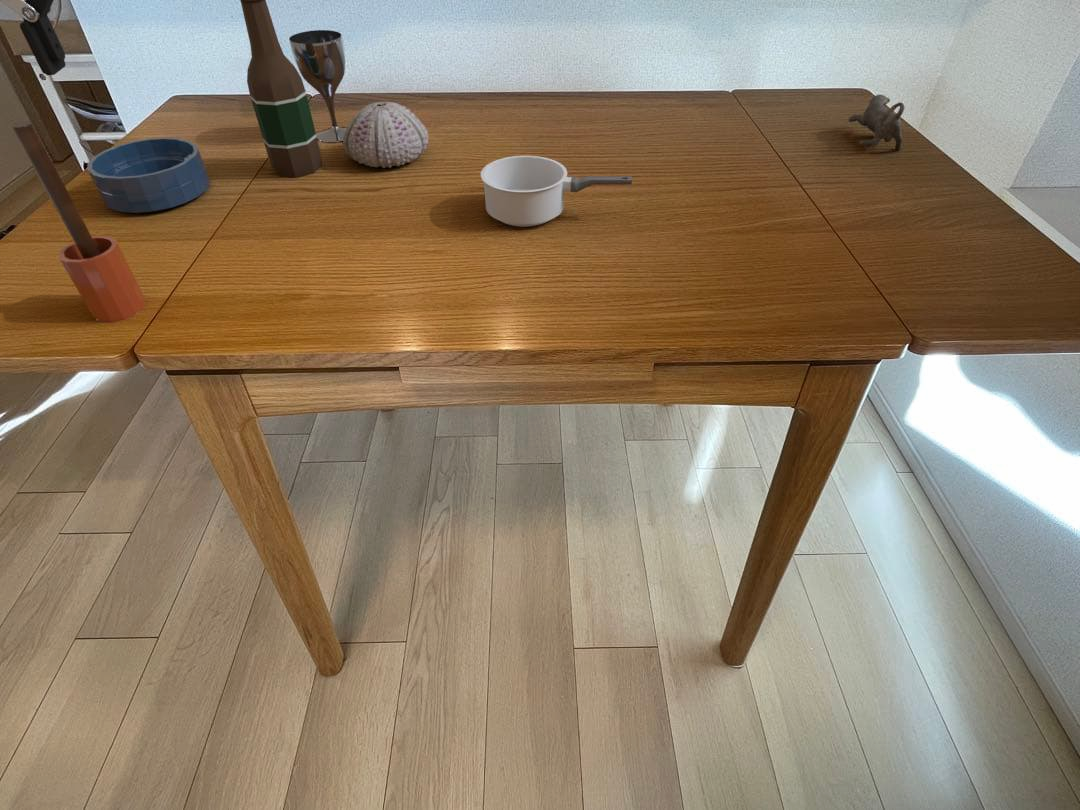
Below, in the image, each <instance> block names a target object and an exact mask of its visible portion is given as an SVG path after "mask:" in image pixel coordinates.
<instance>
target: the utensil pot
mask: <svg viewBox="0 0 1080 810" xmlns="http://www.w3.org/2000/svg"><path fill="white" fill-rule="evenodd" d="M91 237H92V239H93V241H94V242H95V244H96V246H97V248H98V250H99V252H100V255H97V256H95V257H92V258H87V259H84V258H83V256H82V255H81V253H80V251H79V249H78V247H77V245H76V244H75V242H74V241H72V242H70V243H69V244H67V245H65V246H64V247H62V248H61V250H59V252H58V258H59V260H60V262H61V264H62V265H63V267H64V269H65V271H66V272H67V274H68V276H69V278H70V279H71V282H72V283H73V285H74V286H75V288H76V290H77V291H78V294H79V295H80V296H81V299H82V300H83V302H84V303H85V305H86V307H87V309H88V310H89V312H90V314H91V316H92V317H93V319H95V320H96V321H98V322H102V323H115V322H121V321H124V320H128V319H130V318H133V317H134V316H136V315H138V314H139V313H140V312H142V311H143V310H144V308H145V307H146V305H147V300H146V297H145V295H144V293H143V291H142V289H141V287H140V285H139V283H138V282H137V279H136V277H135V275H134V274H133V271H132V269H131V267H130V265H129V263H128V261H127V259H126V257H125V255H124V253H123V250H122V249H121V247H120V245H119V243H118V241H117V239H116V238H114V237H112V236H109V235H94V236H92V235H91Z"/></svg>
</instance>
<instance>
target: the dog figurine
mask: <svg viewBox="0 0 1080 810" xmlns="http://www.w3.org/2000/svg"><path fill="white" fill-rule="evenodd" d="M890 102H891V98H889V97H887V96H886V95H884V94H877V95H874V96H873V97H871V99H870V100H869V103H868V105H867V107H866V109H865V110H864V112H863V114H853V115H851V116H849V118H848V121H847V122H849V123H853V122H858V124H860V125H861V126H863V127H866V128H867V129H868V130H869V131H871V132H872V133H873V137H872V138H868V139H863V140H861V142H859V145H860V146H863V147H864V146H865V147H877V146H878V145H879V144H880V142H881V140H883V141H884V142H885V143H890V142H891V141H892V139H894V141H895V146H894V149H895V150H896V151H901V150H902V146H903V141H904V139H903V136H902V121H901V117H902V115H903V113H904V111H905V104H904V103H903V102H897V103H895V104H893V105H892V106H891V107H890V108H889V109H888V110H887V111H886V109H885V108H886V106H887V104H889V103H890ZM897 108H899V109H898V111H897V112H895V110H896V109H897Z"/></svg>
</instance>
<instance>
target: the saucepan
mask: <svg viewBox="0 0 1080 810" xmlns="http://www.w3.org/2000/svg"><path fill="white" fill-rule="evenodd" d="M480 178H481V180H482V181H483V186H484V198H485V199H484V200H485V201H484V202H485V210H486V212H487V214H488V215H489V216H491V217H492V218H493V219H495V220H497V221H500V222H501V223H503V224H505V225H509V226H514V227H527V228H528V227H535V226H539V225H544V224H545V223H547V222H549V221H551V220H553V219H555V218H557V217H558V216H559V215H560V214H562V212H563V210H564V208H565V207H564V206H565V192H568V193H569V192H570V193H578V192H581V191H582V190H584V189H585V188H589V187H591V186H598V185H600V186H601V185H602V186H603V185H605V186H607V185H611V186H612V185H613V186H615V185H617V186H618V185H620V186H621V185H623V186H624V185H625V186H626V185H633V176H606V175H605V176H604V175H603V176H599V175H597V176H596V175H595V176H593V175H591V176H583V177H576V176H568V170H567V168H566V167H565V165H563V164H562V163H561V162H559V161H557V160H554V159H553V158H552V159H551V158H548V157H545V156H537V155H514V156H508V157H507V156H506V157H503V158H499V159H497V160H494V161H492V162H491V161H490V162H489V163H488V164H486V165H485V166H484V167H483V168H482V169H481V171H480Z"/></svg>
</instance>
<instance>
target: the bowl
mask: <svg viewBox="0 0 1080 810" xmlns="http://www.w3.org/2000/svg"><path fill="white" fill-rule="evenodd" d="M87 172H88V174H89V177H90V178H91V180H92V182H93V184H94V186H95V188H96V191H97V192H98V194H99V196H100V198H101V200H102V202H103V204H104V205H105V206H106V207H108V208H109V209H111V210H113V211H117V212H121V213H131V214H139V213H140V214H141V213H153V212H159V211H163V210H165V211H166V210H170V209H173V208H175V207H178V206H181V205H183V204H186V203H189V202H191V201H193V200H194V199H197V198H198V197H200V196H202V194H204V193H205V192H206V191H207V190H208V189H209V187H210V185H211V179H210V177H209V174H208V171H207V169H206V166H205V164H204V160H203V158H202V155H201V153H200V149H199V147H198V144H196V143H194V142H193V141H191V140H188V139H185V138H179V137H151V138H150V137H149V138H144V139H137V140H132V141H128V142H125V143H120V144H118V145H114V146H113V147H109V148H107V149H105V150H103V151H101V152H99V153H97V154H96V155H95V156H93V157H92V158H91V159H90V160H89V161H88V162H87Z"/></svg>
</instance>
